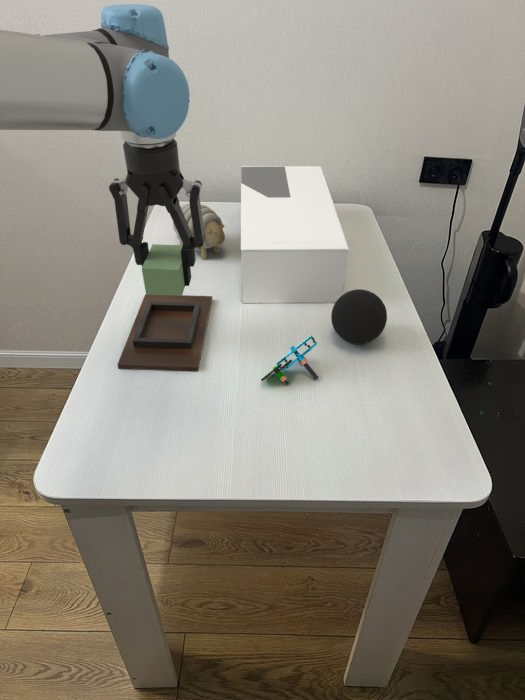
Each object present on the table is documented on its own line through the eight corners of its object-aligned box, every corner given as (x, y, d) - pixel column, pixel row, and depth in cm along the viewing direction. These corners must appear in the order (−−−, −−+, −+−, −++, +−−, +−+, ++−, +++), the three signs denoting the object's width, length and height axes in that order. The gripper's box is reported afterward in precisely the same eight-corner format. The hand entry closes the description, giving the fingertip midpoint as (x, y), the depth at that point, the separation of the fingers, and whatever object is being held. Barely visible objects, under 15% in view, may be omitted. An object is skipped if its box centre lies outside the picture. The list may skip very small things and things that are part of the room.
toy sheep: (209, 269, 111) (206, 223, 104) (158, 246, 119) (152, 203, 112) (239, 251, 118) (238, 207, 111) (188, 231, 126) (184, 189, 119)
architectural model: (241, 210, 135) (240, 165, 127) (316, 210, 136) (320, 165, 128) (241, 303, 101) (240, 249, 93) (342, 302, 102) (349, 248, 94)
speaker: (319, 328, 95) (324, 284, 88) (364, 318, 98) (372, 274, 91) (344, 360, 88) (351, 315, 81) (392, 348, 91) (402, 303, 84)
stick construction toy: (302, 338, 89) (315, 327, 81) (326, 368, 89) (341, 359, 81) (252, 378, 85) (260, 370, 78) (277, 409, 85) (288, 405, 78)
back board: (198, 371, 85) (196, 360, 84) (118, 368, 85) (115, 358, 84) (212, 300, 102) (211, 290, 100) (145, 298, 102) (144, 288, 101)
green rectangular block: (182, 296, 80) (179, 269, 77) (145, 294, 81) (141, 268, 77) (189, 270, 86) (187, 245, 83) (156, 269, 87) (152, 244, 83)
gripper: (220, 133, 71) (226, 271, 86) (90, 130, 72) (119, 267, 87) (213, 150, 65) (221, 295, 80) (73, 146, 66) (107, 291, 81)
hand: (168, 280), depth 83 cm, fingers closed on green rectangular block, 6 cm apart
